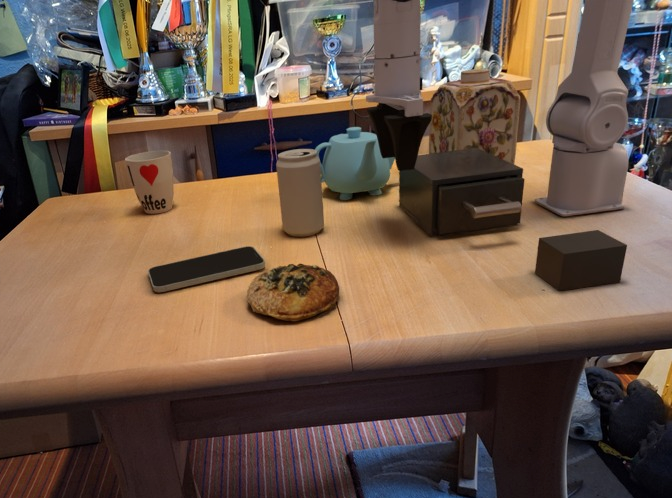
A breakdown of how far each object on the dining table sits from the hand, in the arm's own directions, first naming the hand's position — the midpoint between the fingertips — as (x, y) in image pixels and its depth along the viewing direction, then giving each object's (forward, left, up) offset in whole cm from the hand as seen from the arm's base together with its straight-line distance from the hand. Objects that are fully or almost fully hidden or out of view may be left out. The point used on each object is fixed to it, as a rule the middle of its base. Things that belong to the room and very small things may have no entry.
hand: (397, 163), depth 77 cm
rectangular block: (-14, +21, -10) cm, 27 cm away
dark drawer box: (-10, +1, -9) cm, 14 cm away
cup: (+37, -28, -10) cm, 47 cm away
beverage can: (+13, -6, -10) cm, 17 cm away
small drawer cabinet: (-10, -4, -10) cm, 15 cm away
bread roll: (+18, +17, -10) cm, 27 cm away
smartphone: (+28, +5, -10) cm, 30 cm away
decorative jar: (-22, -26, -10) cm, 35 cm away
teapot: (0, -23, -10) cm, 25 cm away
